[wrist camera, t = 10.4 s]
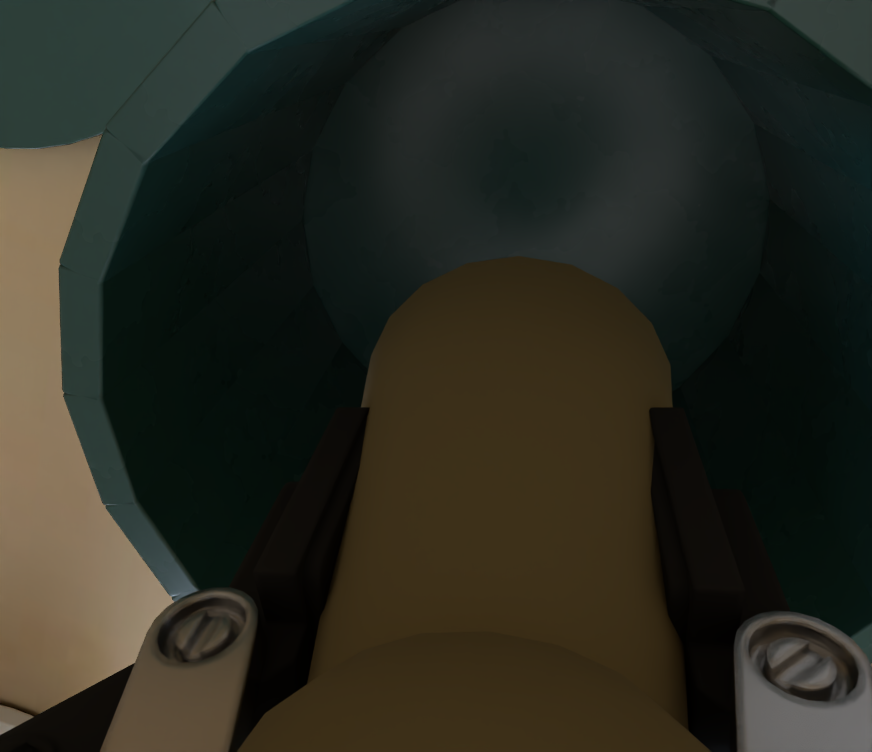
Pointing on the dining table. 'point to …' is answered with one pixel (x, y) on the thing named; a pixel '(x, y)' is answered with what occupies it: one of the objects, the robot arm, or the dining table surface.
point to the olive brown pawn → (500, 533)
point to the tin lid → (78, 63)
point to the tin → (479, 245)
